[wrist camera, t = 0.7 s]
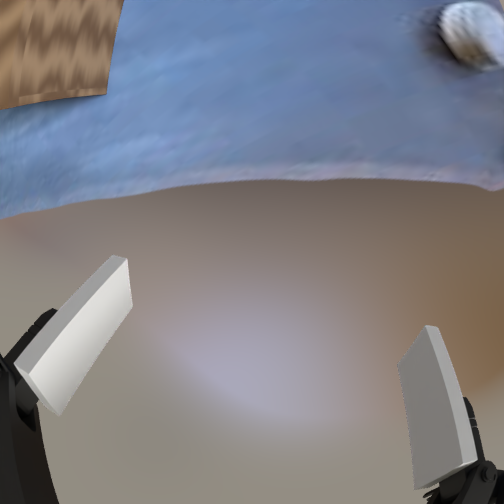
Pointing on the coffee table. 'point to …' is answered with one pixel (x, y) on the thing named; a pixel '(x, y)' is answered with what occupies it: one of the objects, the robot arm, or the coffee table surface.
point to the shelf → (55, 49)
